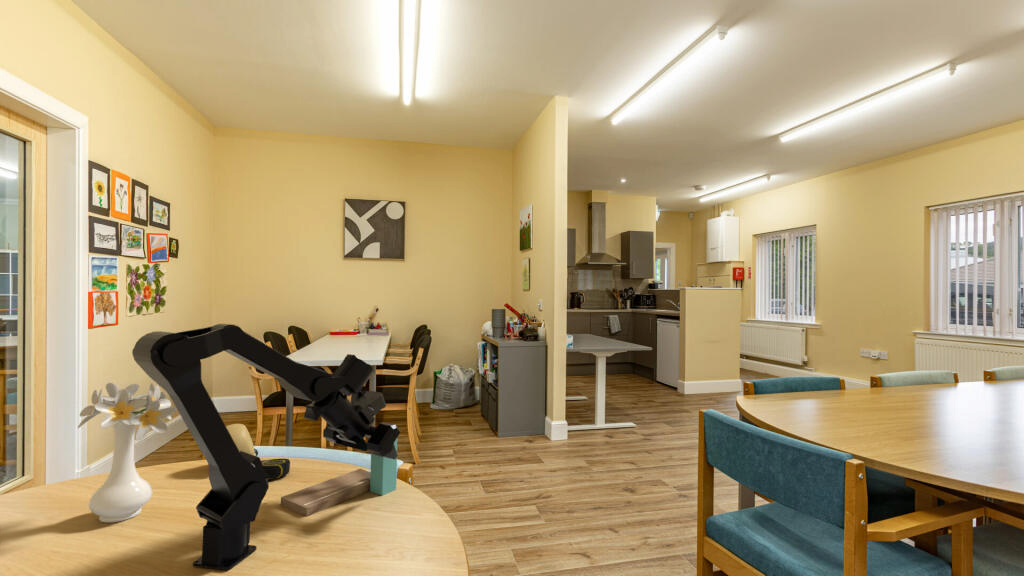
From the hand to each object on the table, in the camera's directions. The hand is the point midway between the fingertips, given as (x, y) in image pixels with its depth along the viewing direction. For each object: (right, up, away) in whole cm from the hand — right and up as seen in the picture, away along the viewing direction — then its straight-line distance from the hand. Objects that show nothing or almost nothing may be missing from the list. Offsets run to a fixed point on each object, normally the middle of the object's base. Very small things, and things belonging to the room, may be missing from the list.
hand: (381, 453), depth 101 cm
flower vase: (-46, -7, -14) cm, 48 cm away
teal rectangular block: (-1, -8, +1) cm, 9 cm away
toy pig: (-41, -8, +13) cm, 44 cm away
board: (-9, -8, -2) cm, 13 cm away
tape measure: (-28, -9, +8) cm, 31 cm away
